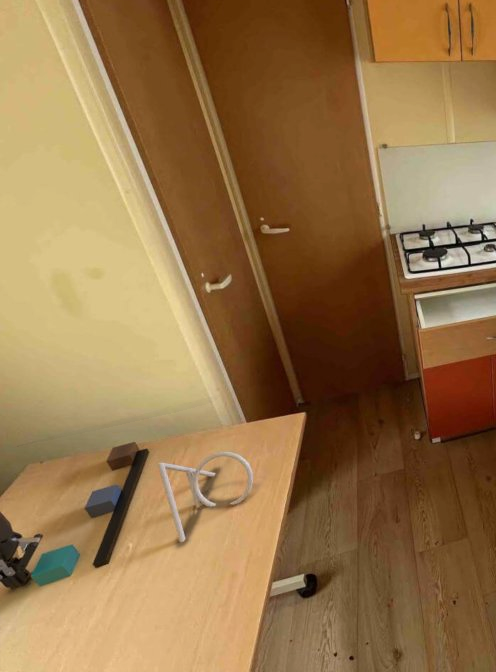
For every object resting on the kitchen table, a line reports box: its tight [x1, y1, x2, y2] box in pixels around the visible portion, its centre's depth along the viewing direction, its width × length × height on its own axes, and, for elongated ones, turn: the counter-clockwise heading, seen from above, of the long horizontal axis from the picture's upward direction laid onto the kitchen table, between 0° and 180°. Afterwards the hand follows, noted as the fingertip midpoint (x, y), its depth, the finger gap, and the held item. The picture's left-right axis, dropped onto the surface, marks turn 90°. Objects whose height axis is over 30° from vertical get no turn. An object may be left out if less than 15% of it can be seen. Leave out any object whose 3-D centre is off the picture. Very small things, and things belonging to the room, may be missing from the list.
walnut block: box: [106, 441, 141, 472], centre depth 104 cm, size 4×4×4 cm
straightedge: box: [92, 448, 150, 569], centre depth 94 cm, size 2×30×2 cm, turn 25°
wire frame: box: [157, 451, 254, 543], centre depth 95 cm, size 18×13×16 cm
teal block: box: [30, 543, 81, 587], centre depth 81 cm, size 4×4×4 cm
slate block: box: [84, 483, 122, 519], centre depth 93 cm, size 4×4×4 cm
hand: (20, 582), depth 79 cm, fingers closed
